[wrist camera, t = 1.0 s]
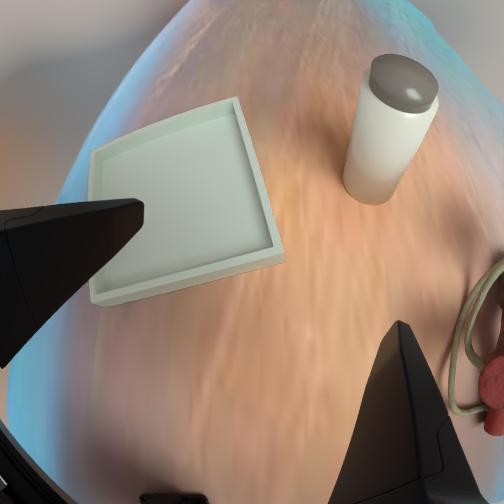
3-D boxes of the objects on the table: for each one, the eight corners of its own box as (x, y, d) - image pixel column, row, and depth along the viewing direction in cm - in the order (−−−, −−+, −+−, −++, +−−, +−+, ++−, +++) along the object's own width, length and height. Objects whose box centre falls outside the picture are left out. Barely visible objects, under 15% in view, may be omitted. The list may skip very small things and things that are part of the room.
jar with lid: (403, 198, 23) (459, 102, 12) (354, 210, 24) (390, 108, 12) (381, 153, 25) (415, 50, 13) (334, 163, 25) (349, 52, 14)
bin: (285, 261, 23) (284, 252, 21) (107, 307, 24) (90, 303, 22) (241, 112, 28) (237, 96, 26) (102, 162, 29) (90, 150, 27)
